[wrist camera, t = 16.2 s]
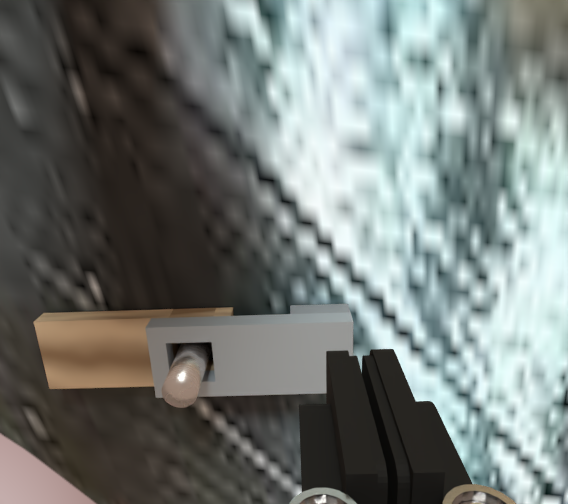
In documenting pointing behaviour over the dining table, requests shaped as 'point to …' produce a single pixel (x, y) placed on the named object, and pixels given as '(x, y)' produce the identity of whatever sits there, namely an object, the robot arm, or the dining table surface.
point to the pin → (186, 374)
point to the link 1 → (104, 346)
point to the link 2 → (257, 349)
